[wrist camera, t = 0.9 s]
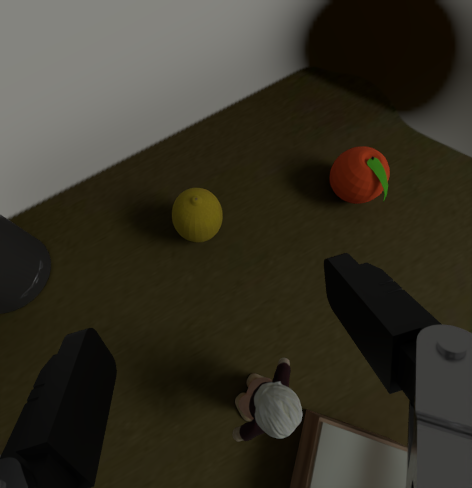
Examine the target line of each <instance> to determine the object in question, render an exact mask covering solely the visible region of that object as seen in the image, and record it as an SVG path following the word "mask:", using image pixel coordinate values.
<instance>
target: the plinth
mask: <svg viewBox="0 0 472 488" xmlns="http://www.w3.org/2000/svg"><path fill="white" fill-rule="evenodd" d="M406 474H407V447H406V446H404V445H402V444H400V443H398V442H396V441H394V440H392V439H389V438H387V437H384V436H381V435H378V434H375V433H372V432H370V431H367V430H364V429H361V428H358V427H356V426H353V425H350V424H347V423H344V422H341V421H339V420H336V419H333V418H330V417H327V416H324V415H322V414H319V413H316V412H313V411H310V410H308V409H306V414H305V418H304V423H303V428H302V432H301V437H300V442H299V446H298V451H297V456H296V460H295V465H294V470H293V474H292V479H291V484H290V488H406Z"/></svg>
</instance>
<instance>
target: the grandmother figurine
mask: <svg viewBox="0 0 472 488" xmlns="http://www.w3.org/2000/svg"><path fill="white" fill-rule="evenodd" d="M289 377H290V362H289V360H288V359H287V358H281V359H280V360H279V362H278V366H277V369H276V371H275V375H274V378H273V381H272V380H271V379H269V378H265V377H263V376H260V375H258V374H255V373H253V374H251V375H250V376H249V377H248V379H247V386H248V390H247V393H240V394H239V395H238V396H237V397H236V399H235V404H236V407H237V409H238V410H239V412H240V414H241V416H242V417H243V419H244V420H246V421H250V422H247V423H245V424H244V425H242V426H240V427H236V428H235V429H234V430H233V438H234V439H235V440H236V441H243V440H244V441H248V440H251V439H253V438H254V437H256V436H257V435H260V434H263V433H265V432H266V433H267V434H268V435H269V436H271V437H275V438H278V439H281V438H285V437H286V436H289V435H291V433H292V432H293V431H294V430H295V428H296V427H297V426H298V425H299V424H300V423H301V420H302V416H303V413H302V407H301V404H300V401H299V398H298V397H297V395H296V393H295V392H294V391H292V390H291V389H290V388H288V387H289Z"/></svg>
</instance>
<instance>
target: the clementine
mask: <svg viewBox="0 0 472 488" xmlns="http://www.w3.org/2000/svg"><path fill="white" fill-rule="evenodd" d="M389 176H390V169H389V166H388V162H387V160H386V158H385V157H384V156H383V155H382V154H381V153H380V152H379V151H377V150H375V149H373V148H370V147H354V148H351V149H349V150H347V151H345V152H343V153H342V154H341V155H340V156H339V157H338V158H337V159H336V160H335V161H334V163H333V166H332V168H331V170H330V184H331V187H332V189H333V191H334V192H335V194H336V195H337V196H338V197H340V198H341V199H342V200H344V201H346V202H349V203H354V204H356V203H365V202H368V201H371V200H372V199H374V198H376V197H377V196H379V195H380V194H381V192H382V191H383V190H384V200H385V197H386V195H387V190H388V180H389ZM383 202H384V201H383Z"/></svg>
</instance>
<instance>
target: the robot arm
mask: <svg viewBox="0 0 472 488" xmlns="http://www.w3.org/2000/svg"><path fill="white" fill-rule="evenodd" d="M50 270H51V259H50V256H49V252H48V251H47V249H46V247H45V246H44V245H43V244H42V243H41V242H40V241H39V240H38V239H36V238H35V237H33V236H32V235H30V234H29V233H27V232H26V231H24V230H23V229H21V228H20V227H18V226H17V225H16V224H14V223H12V222H11V221H9V220H8V219H6V218H5V217H3V216H2V215H0V314H2V313H8V312H11V311H15V310H17V309H19V308H21V307H23V306H25V305H26V304H28V303H29V302H31V301H32V300H33V299H34V298H35V297H36V296H37V295H38V294H39V293H40V292H41V290H42V289H43V288H44V286H45V284H46V282H47V280H48V278H49V274H50ZM324 272H325V282H326V293H327V298H328V301H329V304H330V306H331V308H332V310H333V312H334V313H335V315H336V316H337V317H338V319H339V320H340V322H341V323H342V325H343V326H344V328H345V329H346V331H347V332H348V334H349V335H350V337H351V338H352V340H353V341H354V342H355V344H356V345H357V347H358V348H359V350H360V351H361V353H362V354H363V356H364V357H365V359H366V360H367V362H368V363H369V364H370V366H371V367H372V369H373V370H374V372H375V373H376V375H377V376H378V378H379V379H380V381H381V382H382V384H383V385H384V387H385V388H386V389H387V391H388V392H389V394H391V393H394V392H398V391H401V390H403V392H404V393H405V395H406V396H407V397H408V399H409V418H408V447H407V474H406V488H472V333H470V332H468V331H466V330H464V329H461V328H458V327H455V326H450V325H442V324H441V323H439V322H438V321H437V320H436V319H435V318H434V317H433V316H432V315H431V314H430V313H429V312H427V311H426V310H425V309H424V308H423V307H422V306H421V305H420V304H419V303H418V302H417V301H416V300H414V299H413V298H412V297H411V296H410V295H409V294H408V293H407V292H406V291H405V290H402V288H401V287H400V286H399V285H398V284H397V283H396V282H395V281H394V282H393V279H392V278H391V277H389V276H388V275H387V274H386V273H385V272H384V271H383V270H382V269H380V268H377V267H375V266H373V265H371V264H369V263H364V264H360V265H359V264H358V263H357V262H356V261H355V260H354V259H353V258H352V257H351V256H350V255H349V254H348V253H344V254H341V255H337V256H334V257H331V258H327V259H325V260H324ZM116 373H117V370H116V363H115V360H114V358H113V356H112V354H111V353H110V351H109V350H108V348H107V347H106V345H105V344H104V342H103V341H102V339H101V338H100V336H99V335H98V333H97V332H96V330H95V329H93V328H88V329H85V330H81V331H78V332H75V333H71V334H68V335H66V337H65V338H64V340H63V342H62V345H61V347H60V349H59V352H58V354H56V355H53V356H52V358H51V359H50V360H49V361H48V362H47V364H46V365H45V366H44V367H43V369H42V370H41V371H40V373H39V375H38V378H37V380H36V382H35V384H34V386H33V387H34V389H33V390H32V391H31V393H30V395H29V397H28V399H27V403H26V404H25V406H24V408H23V410H22V412H21V414H20V416H19V419H18V421H17V423H16V425H15V427H14V429H13V431H12V434H11V436H10V438H9V440H8V442H7V444H6V446H5V449H4V451H3V453H2V455H1V457H0V488H91V487H94V484H95V479H96V474H97V469H98V464H99V459H100V455H101V450H102V445H103V440H104V435H105V430H106V425H107V420H108V415H109V410H110V405H111V400H112V395H113V390H114V385H115V380H116Z"/></svg>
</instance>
